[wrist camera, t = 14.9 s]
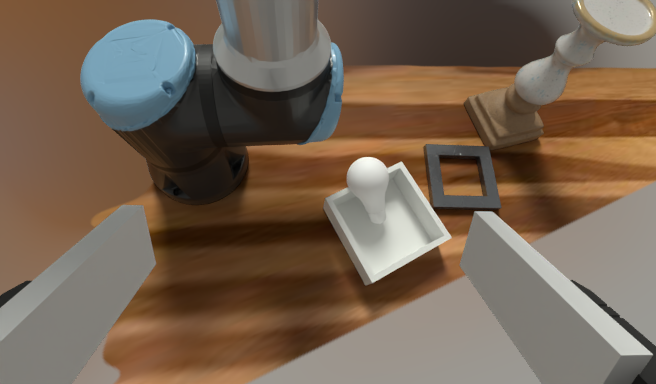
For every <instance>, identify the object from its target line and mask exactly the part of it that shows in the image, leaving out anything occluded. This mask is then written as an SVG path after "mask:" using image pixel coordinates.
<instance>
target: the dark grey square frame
mask: <svg viewBox="0 0 656 384" xmlns="http://www.w3.org/2000/svg"><path fill="white" fill-rule="evenodd" d="M423 148H424V156H425V164H426V172H427V180H428V189H429V197H430V205H431V207H432V208H433V209H465V210H498V209H500V208H501V204H500V199H499V194H498V189H497V184H496V179H495V175H494V170H493V165H492V160H491V155H490V150H489V146H462V145H434V144H426V145H425V146H424V147H423ZM439 158H455V159H476V160H477V165H478V171H479V176H480V182H481V187H482V192H483V196H451V195H444V191H443V184H442V177H441V170H440V162H439Z"/></svg>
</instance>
